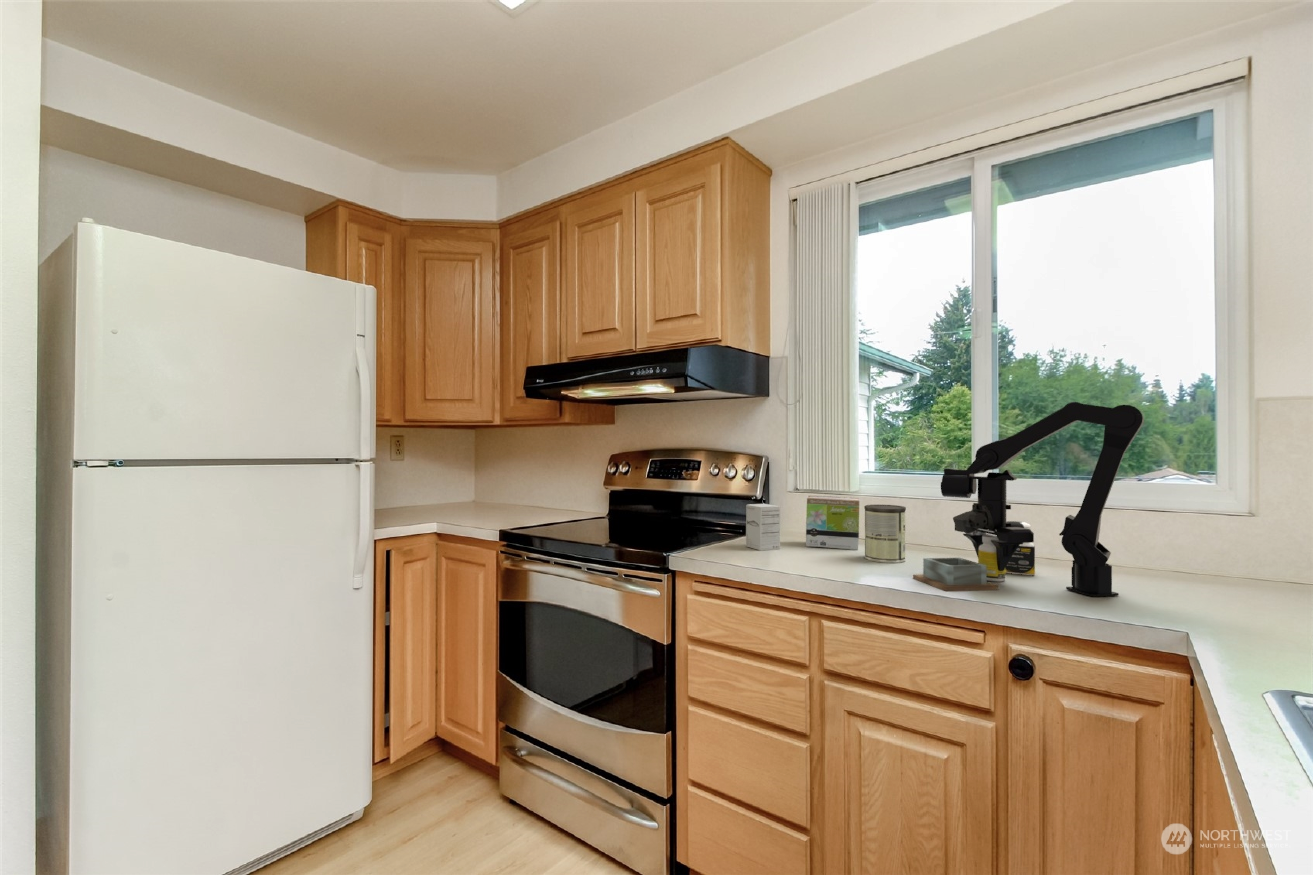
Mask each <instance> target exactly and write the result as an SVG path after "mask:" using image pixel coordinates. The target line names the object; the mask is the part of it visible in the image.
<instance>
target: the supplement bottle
mask: <svg viewBox="0 0 1313 875" xmlns="http://www.w3.org/2000/svg"><path fill="white" fill-rule="evenodd" d="M991 540H998V538H997V535H993V534H990V535H983V536H982V542H983V544H982V545H980V546H979V552H978V556H977V559H978V560H977V563H980V564H983V565H986V581H987V582H988V581H990V582H999V583H1001V582H1004V581H1006V573H1005V569H1004V571H999V570H998V566H997V555H996V547H995V546H994V544H993V543H992V542H991Z"/></svg>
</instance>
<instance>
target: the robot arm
mask: <svg viewBox="0 0 1313 875" xmlns="http://www.w3.org/2000/svg"><path fill="white" fill-rule="evenodd" d="M1144 421H1145V418H1144V415H1143V413H1142V412H1141V410H1140V409H1139V408H1137V407H1135V406H1133V405H1130V404H1119V405H1117V406H1114V407H1110V406H1109V407H1108V406H1102V405H1100V406H1099V405H1094V404H1085V403H1081V402H1080V401H1071V402H1068V403H1067V404H1065V405H1064V406H1063V407H1062V408H1060V409H1058V410H1056V411H1055V412H1052V413H1051V414H1048V415H1047V416H1045V417H1043V418H1041V419H1040V420H1038V421H1036V422H1035V423H1033V424H1031V425H1029V426H1027V427H1026V428H1024V429H1022V430H1020V431H1018V432H1016V433H1015V434H1013V435H1010V436H1008V437H1004V438H1001V439H998V440H995V441H993V442H989V443H987V444H984V445H982V446H980V447H979V448H978V449H977V450H976V453H975V459H974V460H973V462H972V463H971V464H969V466H968V467H967V468H966V469H957V468H956V469H955V468H951V467H950V468H948V467H947V468H944V469H943V474H942V477H941V482H940V492H941V495H942V497H945V498H946V497H947V498H948V497H949V498H961V499H971V497H972V495H975V494H976V493H977V502H973V504H972V508H971V510H969V511H965V512H962V513H960V514H958V515H955V516H953V517H952V520H953V523H954V531H955V532H956V531H957V532H960V533H963V534H962V535H963V536H964V537H965V538H967V540H968V539H969V541H971V544H972V546H973V547H974V551H975V553H976V556H977V557H978V552H979V546H980V545H982V544H983V542H982V536H983V535H994V536H997V538H998V540H991V542H992V543H993V544H994V546H995V547H996V555H997V566H998V570H999V571H1004V569H1005V567H1006V566H1007V564H1008V562H1009V560H1010V559H1011V557H1012V555H1013V554H1014V552H1015V551H1016V549H1017V548H1018V547H1019V545H1020V544H1023V543H1029V542H1032V543H1034V542H1035V536H1034V535H1035V534H1034V531H1032V529H1031V530H1030V529H1026V528H1021V527H1011V523H1007V510H1012V504H1007V481H1016V480H1017V479H1018V477H1017V476H1016V475H1014V474H1013V473H1012V471H1010V470H1009V469H1005V470H1004V471H1003V472H993V471H994V470H999V469H1002V468H1004V467H1006V466H1007V465H1008V464H1010V463H1011V462H1012V461H1013V460H1015V459H1016V458H1017V457H1018V456H1019V455H1020V454H1021V453H1023V452H1024V451H1025V450H1027V449H1028V448H1031V447H1032V446H1034V445H1036V444H1037V443H1039V442H1041V441H1044V440H1045V439H1047V438H1048V437H1051V436H1052V435H1055V434H1057V433H1058V432H1060V431H1061V430H1064V429H1065V428H1067V427H1069V426H1071V425H1073V424H1075V423H1077V422H1084V423H1089V424H1096V425H1101V426H1104V432H1103V442H1102V448H1101V451H1100V453H1099V457H1098V460H1097V462H1096V464H1095V468H1094V470H1093V473H1092V476H1091V477H1090V478H1091V479H1090V481H1089V484H1088V487H1087V490H1086V492H1085V495H1084V497H1083V500H1082V503H1081V506H1080V508H1079V510H1078V512H1077V513H1076V515H1075V516H1074V515H1072V514H1068V515H1067V516H1065V519H1064V525H1063V529H1062V531H1061V532H1060V533H1058V534H1059V536H1062V537H1061V545H1062V547H1063V549H1064V550H1065V551H1066V552H1067V553H1068V554H1070V555H1071V556H1072V558H1073V560H1072V566H1071V586H1066V587H1065V589H1066V590H1067V591H1071V592H1075V593H1078V594H1082V595H1086V596H1089V597H1116V596H1117V597H1118V596H1119V592H1115V591H1113V584H1112V582H1113V581H1112V580H1113V573H1112V572H1113V566H1112V564H1109V563H1107V562H1108V561H1109V559H1110V556H1111V555H1112V552H1111V551H1110V550H1109V549H1108V548H1107V547H1105V546H1104V545H1103V544H1102V543H1101V542H1100V541H1099V539H1100V534H1101V533H1100V532H1101V523H1102V514H1103V512H1104V509H1105V507H1106V503H1107V501H1108V498H1109V496H1110V492H1111V490H1112V488H1113V485H1114V482H1115V480H1116V476H1117V474H1118V472H1119V469H1120V467H1121V463H1122V461H1123V458H1124V455H1125V453H1126V452H1127V450H1128V448H1129V447H1130V446H1131V444H1132V442H1133V441H1134V439H1135V437H1137V435H1138V433H1139V432H1140V431H1141V428H1142V427H1143V425H1144V423H1145V422H1144ZM992 470H993V471H992ZM988 471H992V472H988ZM986 472H988V473H987V476H976V474H977V475H979V474H984V473H986Z"/></svg>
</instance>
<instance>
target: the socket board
mask: <svg viewBox="0 0 1313 875" xmlns="http://www.w3.org/2000/svg"><path fill="white" fill-rule="evenodd" d="M922 560H923V562H922V563H923V565H922V566H923V568H922V570H923V573H922V574H913V575H912V579H914V580H916V581H919V582H922V583H925V584H926V585H930V586H932V587H935V588H937V589H940V590H942V591H945V592H958V591H963V592H964V591H992V590H993V591H995V590H997V591H998V590H999V585H997V584H995V583H990V582H988V581H987V580H986V565H983V564H980V563H978V562H976V561H973V560H969V559H966V558H963V557H930V558H929V557H926V558H924V557H923V559H922Z"/></svg>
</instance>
